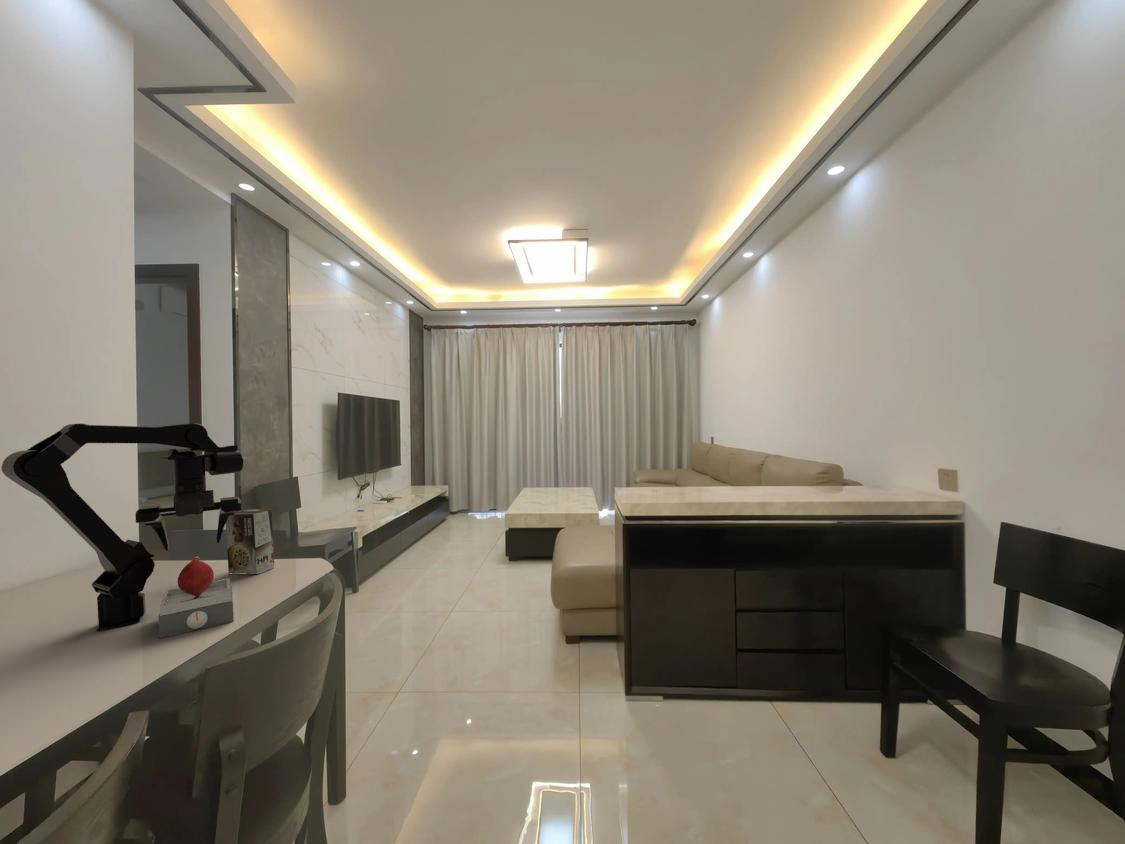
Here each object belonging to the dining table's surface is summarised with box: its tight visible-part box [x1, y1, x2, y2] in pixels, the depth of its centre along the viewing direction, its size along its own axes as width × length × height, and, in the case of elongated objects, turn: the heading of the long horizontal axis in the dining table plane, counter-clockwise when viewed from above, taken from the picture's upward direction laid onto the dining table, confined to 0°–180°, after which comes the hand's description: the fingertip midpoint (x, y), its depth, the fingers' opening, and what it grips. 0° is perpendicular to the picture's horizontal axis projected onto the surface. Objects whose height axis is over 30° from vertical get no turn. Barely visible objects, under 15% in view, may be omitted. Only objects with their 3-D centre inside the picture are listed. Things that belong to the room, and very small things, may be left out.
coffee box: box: [225, 508, 275, 575], centre depth 129 cm, size 9×6×16 cm
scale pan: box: [159, 577, 231, 616], centre depth 98 cm, size 11×11×2 cm
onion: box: [177, 556, 215, 596], centre depth 98 cm, size 6×6×8 cm
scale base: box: [157, 585, 235, 639], centre depth 98 cm, size 12×12×4 cm
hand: (193, 546), depth 110 cm, fingers open, 9 cm apart
